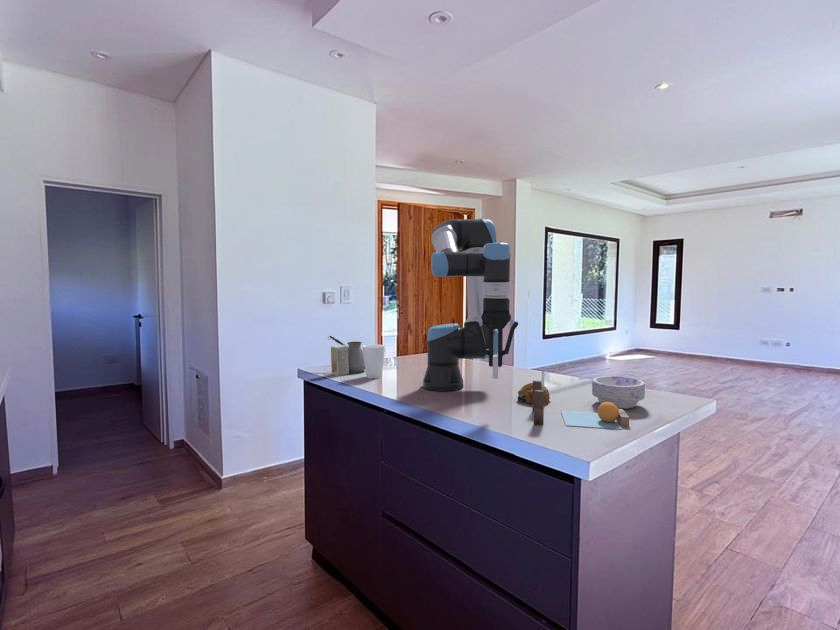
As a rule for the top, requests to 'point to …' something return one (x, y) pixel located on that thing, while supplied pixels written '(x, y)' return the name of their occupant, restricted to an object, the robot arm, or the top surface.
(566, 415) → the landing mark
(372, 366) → the foam cup
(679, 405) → the top surface
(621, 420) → the wall
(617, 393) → the grey stone bowl
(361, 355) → the coffee pot
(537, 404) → the post
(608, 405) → the ball
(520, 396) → the bread roll
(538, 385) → the post
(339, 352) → the skincare box
